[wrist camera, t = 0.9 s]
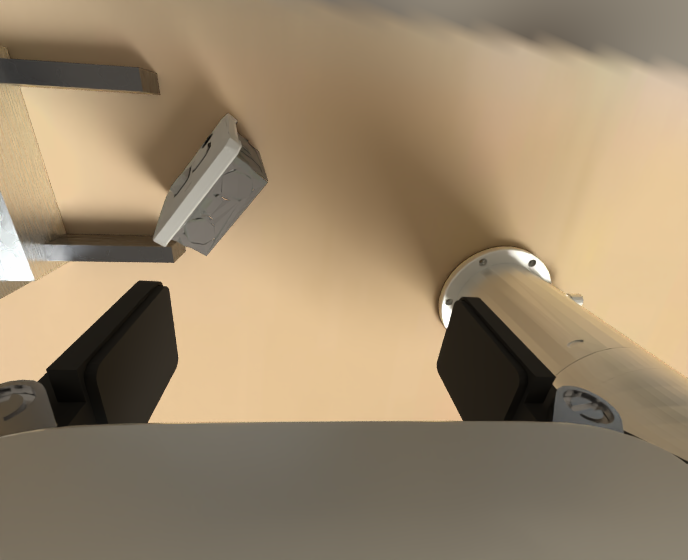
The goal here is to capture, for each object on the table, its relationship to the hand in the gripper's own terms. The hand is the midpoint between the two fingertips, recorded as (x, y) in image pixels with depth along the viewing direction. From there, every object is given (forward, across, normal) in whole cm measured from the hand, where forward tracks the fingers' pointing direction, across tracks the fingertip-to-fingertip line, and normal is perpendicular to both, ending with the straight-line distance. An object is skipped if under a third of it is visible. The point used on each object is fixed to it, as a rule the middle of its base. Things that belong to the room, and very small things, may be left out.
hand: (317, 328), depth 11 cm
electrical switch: (+23, +8, -1) cm, 24 cm away
